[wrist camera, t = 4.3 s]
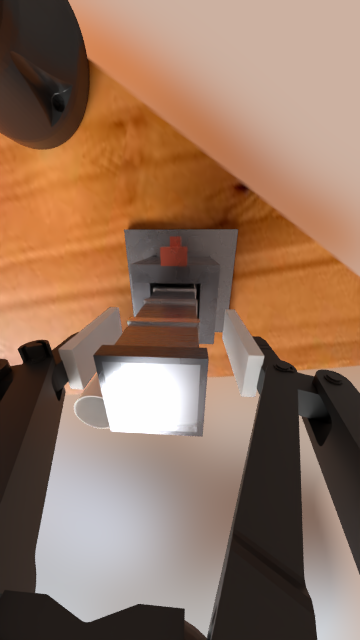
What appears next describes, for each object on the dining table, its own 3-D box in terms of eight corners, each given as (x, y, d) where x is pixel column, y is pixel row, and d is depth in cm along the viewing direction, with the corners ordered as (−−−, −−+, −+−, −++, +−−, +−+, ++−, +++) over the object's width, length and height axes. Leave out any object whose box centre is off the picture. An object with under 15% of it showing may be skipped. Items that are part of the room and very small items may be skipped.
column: (165, 271, 27) (93, 355, 7) (195, 271, 27) (208, 359, 7) (166, 300, 29) (110, 431, 9) (194, 300, 29) (202, 436, 9)
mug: (104, 366, 38) (68, 418, 27) (114, 342, 35) (80, 388, 24) (147, 385, 39) (131, 441, 28) (161, 363, 36) (148, 416, 25)
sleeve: (127, 230, 27) (80, 221, 15) (235, 229, 26) (270, 220, 15) (137, 326, 33) (109, 370, 22) (224, 328, 32) (242, 375, 21)
